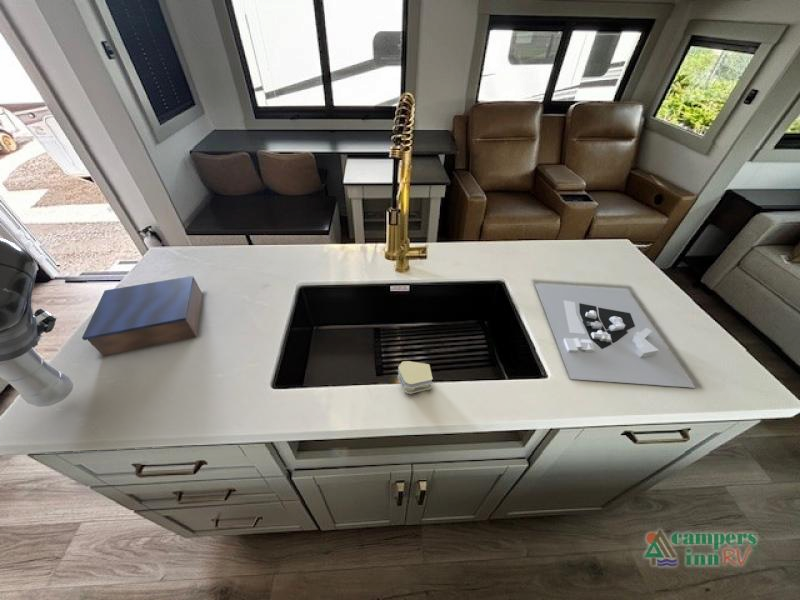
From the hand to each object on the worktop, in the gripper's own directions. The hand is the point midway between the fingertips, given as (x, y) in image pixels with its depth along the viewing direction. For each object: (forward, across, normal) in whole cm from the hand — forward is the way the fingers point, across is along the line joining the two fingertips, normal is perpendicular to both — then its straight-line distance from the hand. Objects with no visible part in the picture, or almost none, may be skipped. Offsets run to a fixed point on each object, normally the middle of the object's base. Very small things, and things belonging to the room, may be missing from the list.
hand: (6, 357), depth 56 cm
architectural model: (-66, -64, +89) cm, 128 cm away
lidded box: (+13, -24, +10) cm, 29 cm away
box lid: (+8, -24, +5) cm, 26 cm away
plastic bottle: (+7, 0, +9) cm, 12 cm away
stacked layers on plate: (-35, -30, +59) cm, 74 cm away
